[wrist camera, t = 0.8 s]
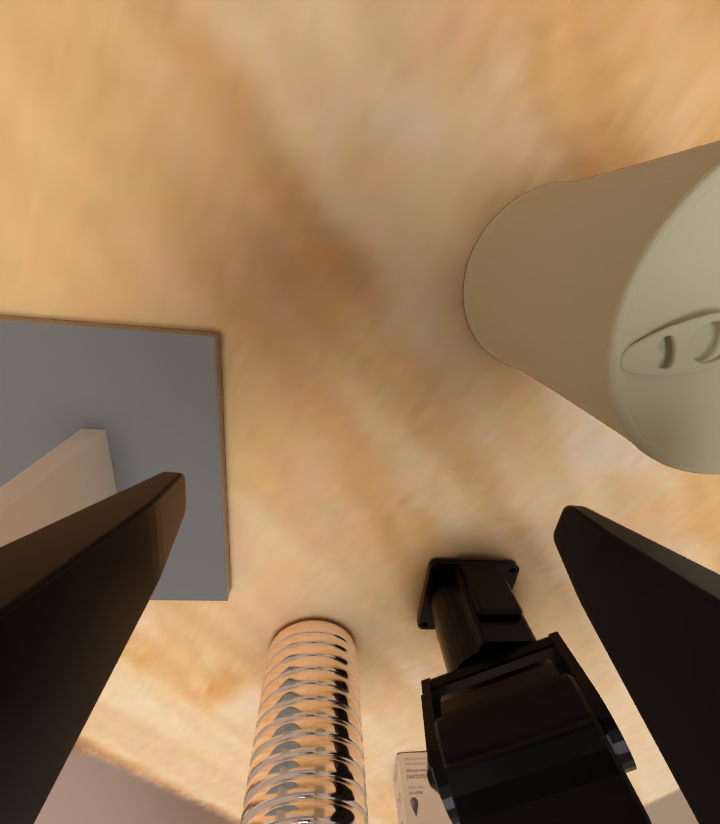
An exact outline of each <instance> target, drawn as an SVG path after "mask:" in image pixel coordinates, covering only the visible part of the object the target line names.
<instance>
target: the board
mask: <svg viewBox="0 0 720 824" xmlns="http://www.w3.org/2000/svg"><path fill="white" fill-rule="evenodd" d="M80 429H100V430H106V434H107V440H108V446H109V451H110V457H111V462H112V468H113V474H114V479H115V485H116V491H117V493H118V492H121V491H123V490H125V489H127V488H129V487H131V486H134V485H136V484H138V483H140V482H142V481H144V480H147V479H149V478H151V477H153V476H155V475H157V474H159V473H162V472H177V473H182V474H183V475H184V476H185V486H186V510H185V514H184V517H183V520H182V523H181V525H180V528H179V531H178V533H177V536H176V539H175V541H174V544H173V546H172V549H171V552H170V554H169V557H168V560H167V562H166V565H165V568H164V570H163V573H162V575H161V577H160V580H159V582H158V584H157V586H156V588H155V590H154V592H153V594H152V596H151V598H150V600H203V601H228V597H229V594H230V591H231V577H230V555H229V532H228V510H227V488H226V466H225V443H224V421H223V399H222V377H221V354H220V333H217V332H204V331H192V330H179V329H167V328H154V327H142V326H129V325H117V324H104V323H92V322H79V321H67V320H54V319H41V318H29V317H16V316H4V315H0V487H1V486H3V485H4V484H6V483H7V482H8V481H10V480H11V479H12V478H14V477H15V476H17V475H18V474H19V473H21V472H22V471H24V470H25V469H26V468H28V467H29V466H31V465H32V464H33V463H35V462H36V461H37V460H39V459H40V458H42V457H43V456H44V455H46V454H47V453H49V452H50V451H51V450H53V449H54V448H55V447H57V446H58V445H60V444H61V443H62V442H64V441H65V440H67V439H68V438H69V437H71V436H72V435H74V434H75V433H76V432H78V431H79V430H80Z"/></svg>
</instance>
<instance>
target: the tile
mask: <svg viewBox="0 0 720 824" xmlns="http://www.w3.org/2000/svg"><path fill="white" fill-rule="evenodd" d="M116 493H117V491H116V485H115V479H114V474H113V468H112V462H111V457H110V451H109V446H108V440H107V434H106V430H100V429H80V430H79V431H78V432H76V433H75V434H74V435H72V436H71V437H69V438H68V439H67V440H65V441H64V442H62V443H61V444H60V445H58V446H57V447H55V448H54V449H53V450H51V451H50V452H49V453H47V454H46V455H44V456H43V457H42V458H40V459H39V460H37V461H36V462H35V463H33V464H32V465H31V466H29V467H28V468H26V469H25V470H24V471H22V472H21V473H19V474H18V475H17V476H15V477H14V478H12V479H11V480H10V481H8V482H7V483H6V484H4V485H3V486H1V487H0V547H2V546H4V545H6V544H8V543H10V542H12V541H15V540H17V539H19V538H21V537H23V536H25V535H28V534H30V533H32V532H34V531H36V530H38V529H41V528H43V527H45V526H47V525H49V524H51V523H54V522H56V521H58V520H60V519H62V518H64V517H67V516H69V515H71V514H73V513H75V512H77V511H80V510H82V509H84V508H86V507H88V506H90V505H93V504H95V503H97V502H99V501H101V500H103V499H105V498H108V497H110V496H112V495H114V494H116Z"/></svg>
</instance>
